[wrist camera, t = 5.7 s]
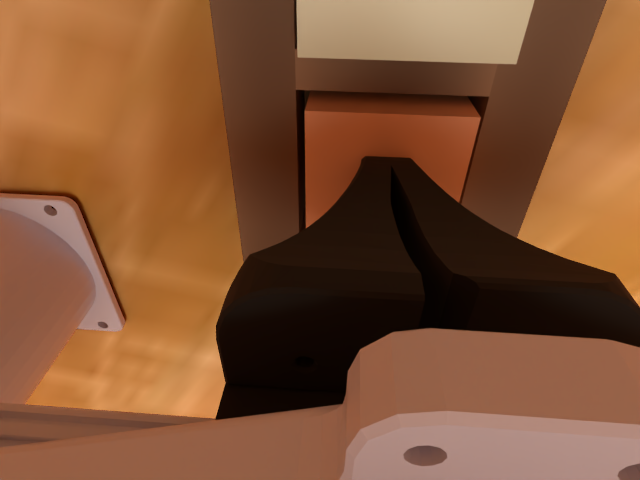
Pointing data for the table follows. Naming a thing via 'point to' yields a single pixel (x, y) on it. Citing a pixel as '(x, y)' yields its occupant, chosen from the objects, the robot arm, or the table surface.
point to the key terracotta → (384, 139)
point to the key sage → (413, 30)
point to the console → (388, 77)
